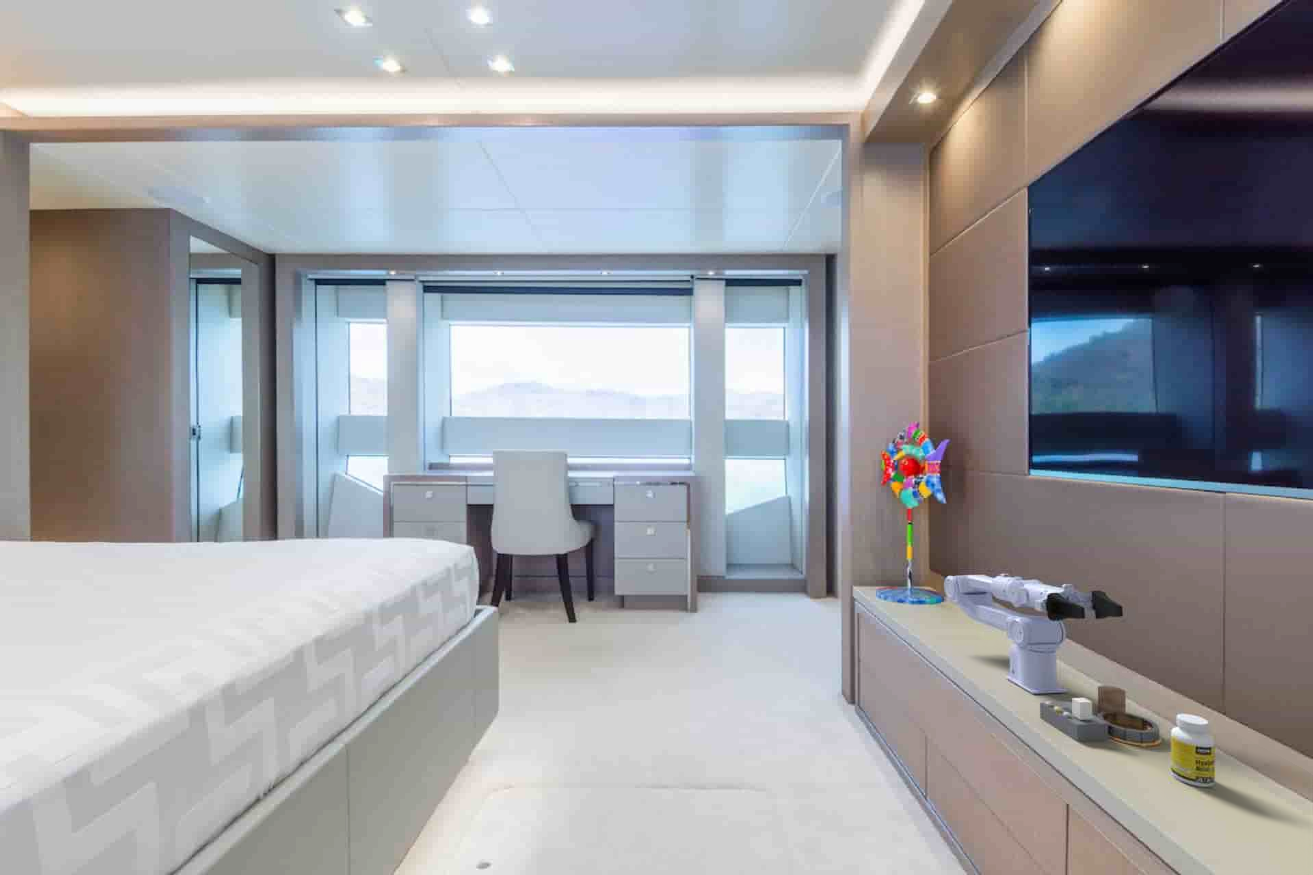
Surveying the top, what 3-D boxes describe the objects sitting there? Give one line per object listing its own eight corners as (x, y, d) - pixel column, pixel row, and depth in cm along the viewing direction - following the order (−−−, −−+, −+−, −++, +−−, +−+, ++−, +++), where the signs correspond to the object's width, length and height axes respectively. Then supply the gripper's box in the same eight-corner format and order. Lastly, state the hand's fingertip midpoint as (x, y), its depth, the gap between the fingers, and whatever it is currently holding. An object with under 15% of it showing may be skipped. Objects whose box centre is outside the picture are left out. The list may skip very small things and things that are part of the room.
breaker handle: (1072, 715, 120) (1072, 698, 120) (1084, 714, 120) (1084, 697, 120) (1080, 719, 118) (1079, 702, 118) (1092, 719, 118) (1092, 701, 119)
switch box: (1040, 717, 127) (1040, 699, 127) (1069, 716, 127) (1068, 698, 127) (1077, 741, 117) (1076, 721, 117) (1108, 739, 117) (1107, 720, 117)
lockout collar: (1082, 722, 124) (1082, 711, 124) (1131, 720, 125) (1130, 708, 125) (1123, 747, 114) (1123, 734, 114) (1176, 744, 115) (1176, 731, 115)
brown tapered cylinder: (1092, 710, 130) (1092, 685, 130) (1113, 709, 130) (1113, 685, 130) (1110, 720, 125) (1109, 694, 125) (1131, 719, 126) (1131, 693, 126)
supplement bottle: (1198, 790, 100) (1197, 727, 100) (1163, 773, 105) (1162, 713, 105) (1223, 785, 101) (1222, 723, 102) (1187, 768, 107) (1186, 709, 107)
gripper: (1019, 582, 137) (1064, 592, 123) (1084, 579, 138) (1135, 589, 124) (1022, 615, 136) (1067, 629, 123) (1086, 612, 137) (1138, 626, 124)
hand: (1101, 612), depth 123 cm, fingers open, 7 cm apart
